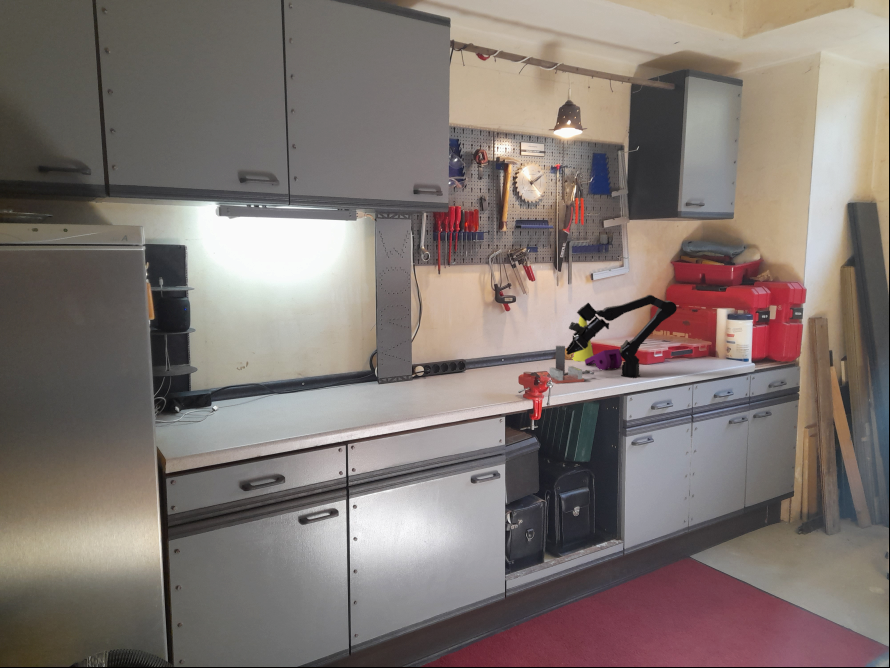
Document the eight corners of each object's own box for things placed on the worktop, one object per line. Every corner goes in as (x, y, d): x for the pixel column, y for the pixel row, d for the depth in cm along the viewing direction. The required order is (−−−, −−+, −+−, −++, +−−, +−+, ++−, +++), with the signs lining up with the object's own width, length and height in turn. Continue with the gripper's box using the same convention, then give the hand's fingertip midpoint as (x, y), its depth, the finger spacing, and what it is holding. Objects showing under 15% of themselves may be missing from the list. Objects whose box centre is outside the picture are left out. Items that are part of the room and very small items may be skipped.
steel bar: (564, 373, 269) (564, 345, 267) (564, 375, 265) (565, 347, 263) (555, 373, 270) (555, 345, 268) (555, 375, 266) (556, 346, 264)
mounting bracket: (585, 377, 289) (608, 367, 273) (580, 361, 291) (603, 350, 275) (600, 376, 293) (624, 365, 277) (595, 359, 295) (618, 348, 280)
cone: (565, 359, 307) (565, 311, 304) (579, 356, 315) (580, 310, 312) (584, 362, 298) (585, 313, 295) (598, 359, 306) (600, 311, 303)
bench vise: (585, 376, 261) (585, 365, 261) (595, 380, 253) (595, 369, 252) (547, 379, 257) (547, 367, 256) (556, 383, 248) (556, 371, 247)
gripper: (578, 314, 272) (554, 337, 275) (581, 318, 253) (554, 342, 257) (595, 331, 271) (570, 354, 274) (599, 336, 253) (572, 360, 256)
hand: (566, 352), depth 265 cm, fingers open, 9 cm apart
